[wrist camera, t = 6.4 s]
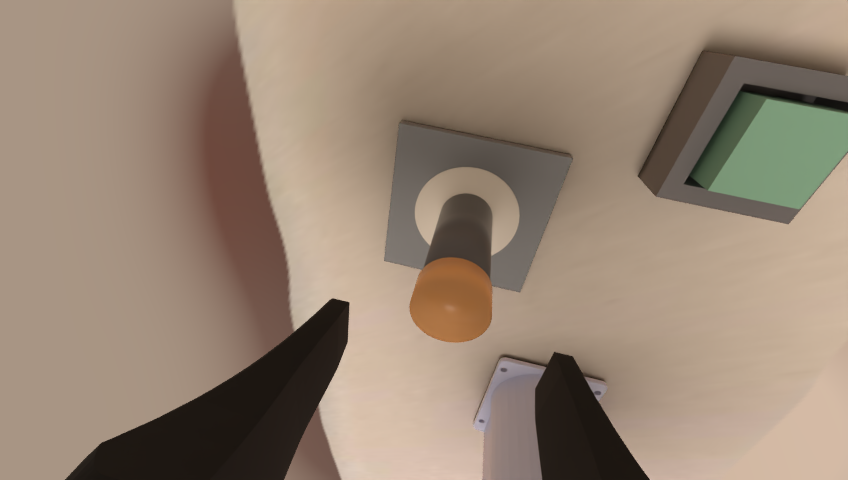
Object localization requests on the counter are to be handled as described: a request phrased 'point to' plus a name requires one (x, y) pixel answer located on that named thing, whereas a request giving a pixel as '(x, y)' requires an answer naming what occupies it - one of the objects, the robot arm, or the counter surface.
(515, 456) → the robot arm
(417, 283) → the cylinder
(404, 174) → the grey square plate
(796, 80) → the button housing
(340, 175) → the counter surface
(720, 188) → the button
